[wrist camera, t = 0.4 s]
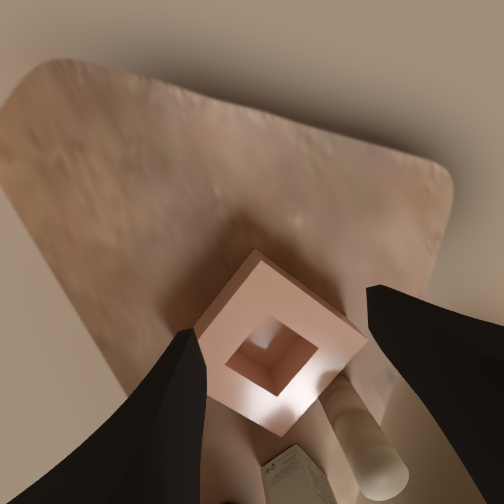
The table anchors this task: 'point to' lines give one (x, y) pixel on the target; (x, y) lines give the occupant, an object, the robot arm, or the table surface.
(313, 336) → the socket block
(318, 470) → the skincare box
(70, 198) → the table surface
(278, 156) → the table surface
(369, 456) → the beech peg
